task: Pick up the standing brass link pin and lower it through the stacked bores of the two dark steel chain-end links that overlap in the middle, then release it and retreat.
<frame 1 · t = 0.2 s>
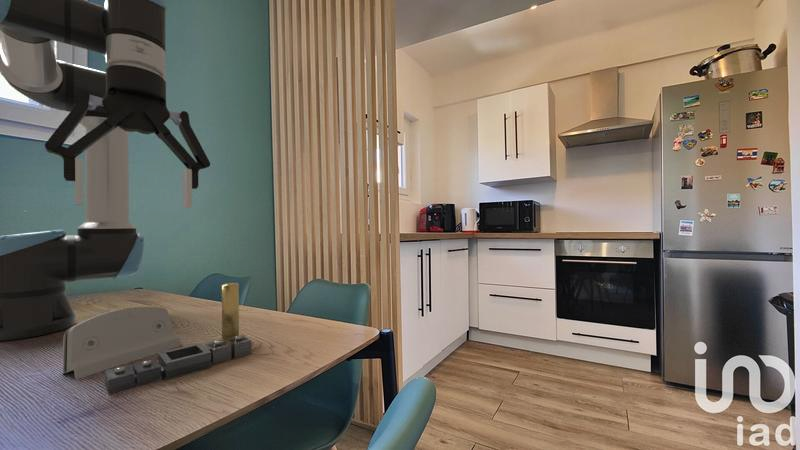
hand: (138, 206, 53), 27 cm above the table, fingers open, 13 cm apart
chain end a: (184, 367, 56), on the table
link pin: (230, 341, 69), on the table
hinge: (124, 358, 61), on the table
chain end b: (184, 367, 56), on the table
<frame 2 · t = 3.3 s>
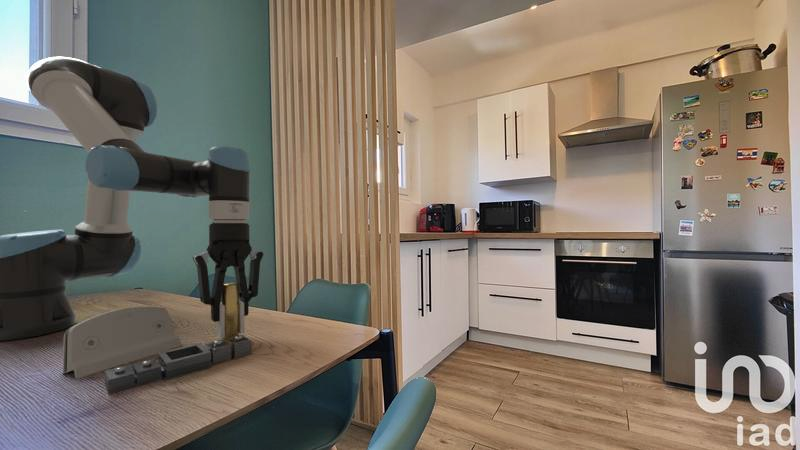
hand: (230, 333, 69), 2 cm above the table, fingers closed on link pin, 3 cm apart
link pin: (230, 341, 69), on the table, touching gripper
everything else where it was.
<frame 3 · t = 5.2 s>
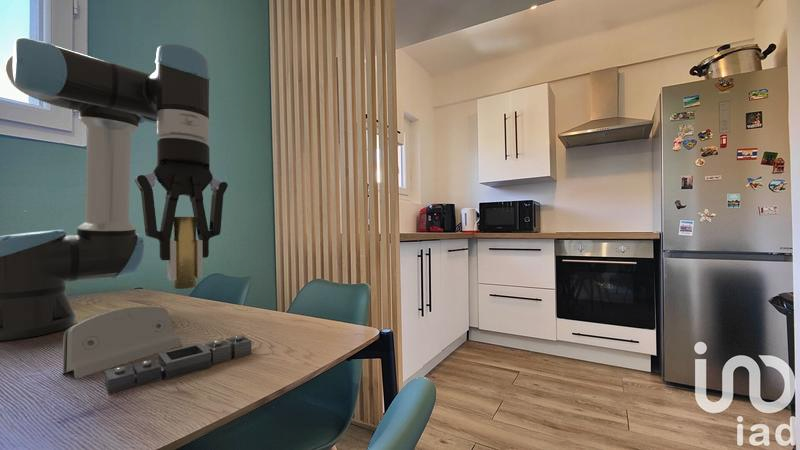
hand: (185, 278, 57), 15 cm above the table, fingers closed on link pin, 3 cm apart
link pin: (185, 287, 57), point 14 cm above the table, touching gripper
everything else where it was.
when the fingers open (4 cm above the table, at t = 7.0 s): link pin drops 1 cm, resting in chain end a.
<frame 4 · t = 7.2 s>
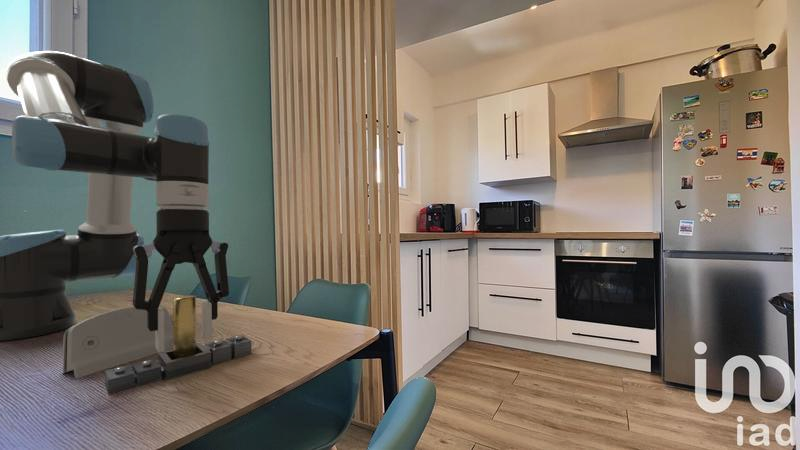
hand: (184, 343, 56), 4 cm above the table, fingers open, 6 cm apart
link pin: (184, 367, 56), resting in chain end a
everything else where it was.
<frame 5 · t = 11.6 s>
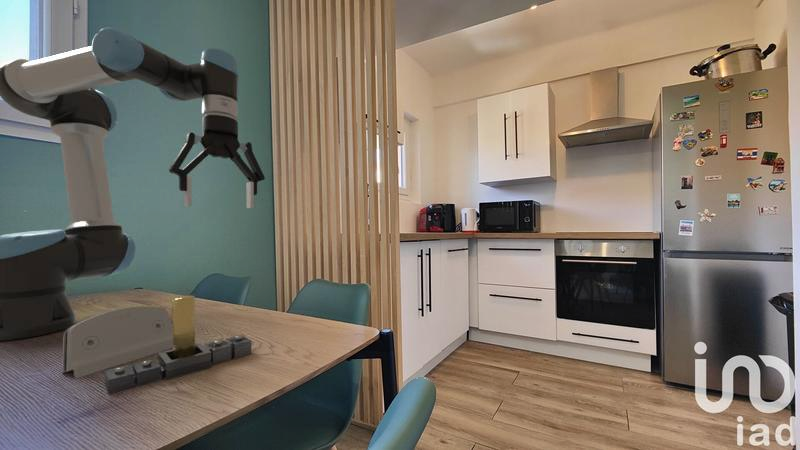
hand: (220, 207, 79), 29 cm above the table, fingers open, 13 cm apart
nothing on the table moved.
at the end: link pin 0.0 cm off-centre on the chain end a, point 0.0 cm above the chain end a's base; link pin tilted 0°; the gripper is holding nothing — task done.
